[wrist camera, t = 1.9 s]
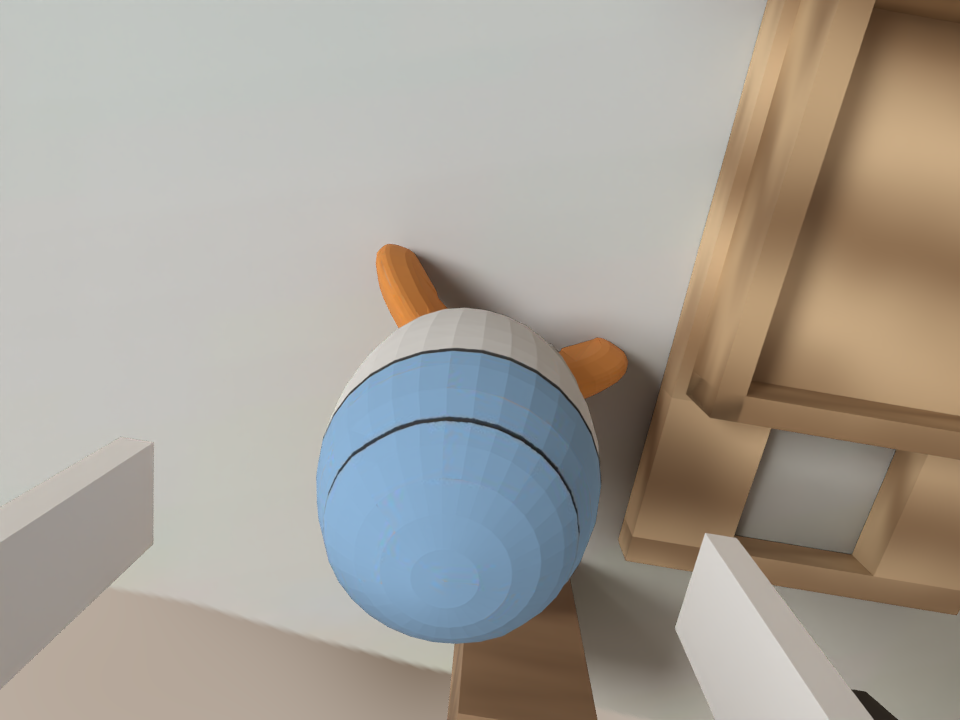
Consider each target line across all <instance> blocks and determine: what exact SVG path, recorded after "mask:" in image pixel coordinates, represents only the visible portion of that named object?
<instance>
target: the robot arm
mask: <svg viewBox="0 0 960 720" xmlns="http://www.w3.org/2000/svg"><path fill="white" fill-rule="evenodd" d="M153 471H154V442H149V441H143V440H137V439H131V438H125V437H120V438H118V439H116V440H115V441H113V442H111V443H109V444H108V445H106V446H104V447H103V448H101V449H99V450H97V451H96V452H94V453H92V454H91V455H89V456H87V457H85V458H84V459H82V460H80V461H79V462H77V463H75V464H73V465H72V466H70V467H68V468H66V469H65V470H63V471H61V472H60V473H58V474H56V475H54V476H53V477H51V478H49V479H48V480H46V481H44V482H42V483H41V484H39V485H37V486H36V487H34V488H32V489H30V490H29V491H27V492H25V493H24V494H22V495H20V496H18V497H17V498H15V499H13V500H12V501H10V502H8V503H6V504H5V505H3V506H1V507H0V689H1V688H2V687H3V686H4V685H5V684H6V683H7V682H9V681H10V680H11V679H12V678H13V677H14V676H15V675H16V674H17V673H18V672H19V671H20V670H21V669H22V668H23V667H24V666H25V665H26V664H27V663H28V662H30V661H31V660H32V659H33V658H34V657H35V656H36V655H37V654H38V653H39V652H40V651H41V650H42V649H43V648H44V647H45V646H46V645H47V644H48V643H50V642H51V641H52V640H53V639H54V638H55V637H56V636H57V635H58V634H59V633H60V632H61V631H62V630H63V629H64V628H65V627H66V626H67V625H69V624H70V623H71V622H72V621H73V620H74V619H75V618H76V617H77V616H78V615H79V614H80V613H81V612H82V611H83V610H84V609H85V608H86V607H87V606H89V605H90V604H91V603H92V602H93V601H94V600H95V599H96V598H97V597H98V596H99V595H100V594H101V593H102V592H103V591H104V590H105V589H106V588H107V587H109V586H110V585H111V584H112V583H113V582H114V581H115V580H116V579H117V578H118V577H119V576H120V575H121V574H122V573H123V572H124V571H125V570H126V569H127V568H129V567H130V566H131V565H132V564H133V563H134V562H135V561H136V560H137V559H138V558H139V557H140V556H141V555H142V554H143V553H144V552H145V551H146V550H147V549H149V548H150V547H151V546H152V545H153ZM675 630H676V632H677V634H678V637H679V639H680V641H681V643H682V646H683V648H684V650H685V653H686V655H687V657H688V659H689V662H690V664H691V666H692V669H693V671H694V673H695V675H696V678H697V680H698V682H699V685H700V687H701V689H702V691H703V694H704V696H705V698H706V701H707V703H708V705H709V707H710V710H711V712H712V714H713V717H714V719H715V720H898V719H897V718H895V717H894V716H893V715H892V714H891V713H890V712H888V711H887V710H886V709H885V708H884V707H883V706H882V705H880V704H879V703H878V702H877V701H876V700H875V699H874V698H872V697H871V696H870V695H869V694H868V693H867V692H864V691H858V690H852V689H850V687H849V686H848V685H847V683H846V682H845V681H844V680H843V678H842V677H841V676H840V674H839V673H838V672H837V670H836V669H835V668H834V666H833V665H832V664H831V662H830V661H829V660H828V658H827V657H826V656H825V654H824V653H823V652H822V650H821V649H820V648H819V646H818V645H817V644H816V642H815V641H814V640H813V638H812V637H811V636H810V634H809V633H808V632H807V630H806V629H805V628H804V626H803V625H802V624H801V623H800V621H799V620H798V619H797V617H796V616H795V615H794V613H793V612H792V611H791V609H790V608H789V607H788V605H787V604H786V603H785V601H784V600H783V599H782V597H781V596H780V595H779V593H778V592H777V591H776V589H775V588H774V587H773V585H772V584H771V583H770V581H769V580H768V579H767V577H766V576H765V575H764V573H763V572H762V571H761V569H760V568H759V567H758V566H757V564H756V563H755V562H754V560H753V559H752V558H751V556H750V555H749V554H748V552H747V551H746V550H745V548H744V547H743V546H742V544H741V543H740V542H739V540H738V539H737V538H733V537H727V536H721V535H715V534H709V533H705V535H704V538H703V541H702V544H701V547H700V551H699V554H698V557H697V560H696V563H695V566H694V570H693V573H692V576H691V579H690V582H689V585H688V588H687V592H686V595H685V598H684V601H683V604H682V607H681V610H680V614H679V617H678V620H677V623H676V626H675Z"/></svg>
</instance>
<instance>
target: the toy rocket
mask: <svg viewBox="0 0 960 720" xmlns="http://www.w3.org/2000/svg"><path fill="white" fill-rule="evenodd" d="M376 268H377V275H378V281H379V286H380V289H381V292H382V295H383V298H384V300H385V302H386V304H387V307H388V309H389V311H390V313H391V315H392V317H393V318H394V320H395V322H396V324H397V326H398V329H397V330H395V331H394V332H393V333H392V334H391V335H390V336H389V337H387V338H386V339H385V340H384V341H383V342H382V343H381V344H380V345H378V346H377V347H376V348H375V349H374V350H373V351H372V352H371V353H370V354H369V355H368V357H367V358H366V359H365V360H364V362H363V363H362V364H361V366H360V367H359V368H358V370H357V371H356V372H355V374H354V375H353V377H352V378H351V379H350V381H349V382H348V383H347V385H346V387H345V389H344V390H343V392H342V394H341V396H340V398H339V400H338V403H337V405H336V407H335V409H334V412H333V414H332V416H331V418H330V421H329V423H328V425H327V428H326V431H325V434H324V437H323V442H322V447H321V452H320V457H319V463H318V469H317V476H316V480H317V507H318V517H319V522H320V527H321V531H322V535H323V539H324V544H325V548H326V552H327V556H328V560H329V563H330V565H331V567H332V569H333V571H334V573H335V575H336V577H337V579H338V581H339V583H340V584H341V585H342V587H343V588H344V589H345V591H346V592H347V593H348V595H349V596H350V597H351V599H352V600H353V601H354V602H356V603H357V604H358V605H359V606H360V607H361V608H362V609H363V610H364V611H365V612H366V613H368V614H369V615H370V616H372V617H373V618H375V619H376V620H378V621H380V622H381V623H383V624H384V625H386V626H387V627H389V628H392V629H394V630H396V631H399V632H401V633H403V634H406V635H408V636H411V637H415V638H419V639H423V640H427V641H431V642H441V643H453V644H460V643H472V642H482V641H486V640H490V639H494V638H498V637H502V636H504V635H506V634H507V633H509V632H511V631H513V630H514V629H516V628H518V627H520V626H521V625H523V624H525V623H526V622H528V621H529V620H530V619H532V618H533V617H535V616H536V615H538V614H539V613H541V612H542V611H543V610H544V609H545V608H546V607H547V606H548V605H549V604H550V603H551V602H552V601H553V600H554V599H555V598H556V597H557V596H558V594H559V592H560V591H561V589H562V588H563V586H564V585H565V584H566V583H567V582H568V580H569V578H570V577H571V575H572V574H573V572H574V571H575V569H576V568H577V566H578V565H579V563H580V561H581V559H582V556H583V554H584V551H585V549H586V546H587V544H588V541H589V538H590V536H591V533H592V531H593V528H594V525H595V523H596V516H597V509H598V503H599V496H600V489H601V472H600V458H599V445H598V441H597V437H596V433H595V429H594V426H593V422H592V419H591V416H590V413H589V409H588V406H587V403H586V401H585V399H586V398H588V397H590V396H593V395H595V394H597V393H599V392H601V391H603V390H605V389H607V388H608V387H610V386H611V385H613V384H615V383H616V382H618V381H619V380H620V379H621V378H622V376H623V375H624V374H625V373H626V370H627V365H628V360H627V357H626V355H625V353H624V352H623V351H622V350H621V349H619V348H618V347H617V346H615V345H614V344H612V343H611V342H609V341H607V340H605V339H602V338H595V339H593V340H589V341H586V342H582V343H579V344H576V345H572V346H569V347H564V348H562V349H561V351H560V352H558V351H557V350H556V349H555V348H554V347H553V346H552V345H551V343H550V344H547V342H546V341H545V340H544V339H543V338H541V337H540V336H539V335H538V334H536V333H535V332H534V331H532V330H531V329H530V328H529V327H527V326H526V325H524V324H522V323H520V322H518V321H516V320H514V319H512V318H510V317H508V316H505V315H501V314H498V313H494V312H491V311H488V310H481V309H472V308H454V309H448V308H447V307H446V306H445V305H444V304H443V303H442V302H441V301H440V299H439V298H438V296H437V291H436V290H435V288H434V286H433V284H432V283H431V281H430V279H429V277H428V276H427V274H426V272H425V271H424V269H423V267H422V265H421V264H420V262H419V260H418V258H417V257H416V255H415V254H414V253H413V252H412V251H411V250H409V249H407V248H404V247H401V246H399V245H394V244H387V245H385V246H383V247H382V248H381V249H380V250H379V251H378V253H377V258H376Z"/></svg>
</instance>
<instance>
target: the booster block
mask: <svg viewBox="0 0 960 720" xmlns="http://www.w3.org/2000/svg"><path fill="white" fill-rule="evenodd" d="M447 720H597V715H596V710H595V705H594V700H593V695H592V689H591V684H590V679H589V674H588V669H587V664H586V658H585V653H584V648H583V643H582V638H581V633H580V628H579V622H578V617H577V612H576V607H575V602H574V597H573V592H572V586H571V581H570V578H569V580H568V582H567V583H566V584H565V585H564V586H563V588H562V589H561V591H560V592H559V594H558V596H557V597H556V598H555V599H554V600H553V601H552V602H551V603H550V604H549V605H548V606H547V607H546V608H545V609H544V610H543V611H542V612H541V613H539V614H538V615H536V616H535V617H533V618H532V619H530V620H529V621H528V622H526V623H525V624H523V625H521V626H520V627H518V628H516V629H514V630H513V631H511V632H509V633H507V634H506V635H504V636H502V637H498V638H494V639H490V640H486V641H482V642H472V643H460V644H455V646H454V656H453V666H452V676H451V686H450V696H449V706H448V716H447Z"/></svg>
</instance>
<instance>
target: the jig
mask: <svg viewBox="0 0 960 720" xmlns="http://www.w3.org/2000/svg"><path fill="white" fill-rule="evenodd" d="M771 428H773V429H779V430H785V431H791V432H797V433H803V434H809V435H814V436H820V437H826V438H832V439H838V440H844V441H850V442H856V443H862V444H868V445H874V446H880V447H886V448H892V449H897V450H896V452H895V454H894V457H893V459H892V461H891V464H890V466H889V468H888V471H887V473H886V476H885V478H884V480H883V483H882V485H881V487H880V490H879V492H878V494H877V497H876V499H875V501H874V504H873V506H872V509H871V511H870V513H869V516H868V518H867V520H866V523H865V525H864V527H863V530H862V532H861V534H860V537H859V539H858V542H857V544H856V546H855V549H854V551H853V553H852V555H850V554H844V553H838V552H832V551H826V550H820V549H814V548H808V547H802V546H796V545H790V544H784V543H778V542H772V541H766V540H760V539H754V538H748V537H742V536H736V535H734V534H735V531H736V529H737V526H738V523H739V520H740V517H741V514H742V511H743V508H744V506H745V503H746V500H747V497H748V494H749V491H750V488H751V485H752V482H753V480H754V477H755V474H756V471H757V468H758V465H759V462H760V459H761V457H762V454H763V451H764V448H765V445H766V442H767V439H768V436H769V433H770V431H771ZM705 533H709V534H715V535H721V536H727V537H733V538H737V539H738V540H739V542H740V543H741V544H742V546H743V547H744V548H745V550H746V551H747V552H748V554H749V555H750V556H751V558H752V559H753V560H754V562H755V563H756V564H757V566H758V567H759V568H760V569H761V571H762V572H763V573H764V575H765V576H766V577H767V579H768V580H769V581H770V583H771V584H772V585H776V586H782V587H789V588H795V589H801V590H807V591H813V592H819V593H825V594H831V595H837V596H843V597H849V598H855V599H861V600H867V601H874V602H880V603H886V604H892V605H898V606H904V607H910V608H916V609H922V610H928V611H934V612H940V613H946V614H953V615H957V614H958V612H959V610H960V0H768V1H767V4H766V8H765V11H764V15H763V19H762V22H761V26H760V30H759V33H758V37H757V40H756V44H755V48H754V51H753V55H752V58H751V62H750V66H749V69H748V73H747V76H746V80H745V84H744V87H743V91H742V95H741V98H740V102H739V105H738V109H737V113H736V116H735V120H734V123H733V127H732V131H731V134H730V138H729V142H728V145H727V149H726V152H725V156H724V160H723V163H722V167H721V170H720V174H719V178H718V181H717V185H716V188H715V192H714V196H713V199H712V203H711V207H710V210H709V214H708V217H707V221H706V225H705V228H704V232H703V235H702V239H701V243H700V246H699V250H698V254H697V257H696V261H695V264H694V268H693V272H692V275H691V279H690V282H689V286H688V290H687V293H686V297H685V301H684V304H683V308H682V311H681V315H680V319H679V322H678V326H677V329H676V333H675V337H674V340H673V344H672V347H671V351H670V355H669V358H668V362H667V366H666V369H665V373H664V376H663V380H662V384H661V387H660V391H659V394H658V398H657V402H656V405H655V409H654V413H653V416H652V420H651V423H650V427H649V431H648V434H647V438H646V441H645V445H644V449H643V452H642V456H641V459H640V463H639V467H638V470H637V474H636V478H635V481H634V485H633V488H632V492H631V496H630V499H629V503H628V506H627V510H626V514H625V517H624V521H623V525H622V528H621V532H620V535H619V539H618V541H619V544H620V547H621V549H622V552H623V555H624V558H625V560H626V561H631V562H637V563H643V564H649V565H655V566H661V567H667V568H673V569H679V570H685V571H691V572H693V570H694V566H695V563H696V560H697V557H698V554H699V551H700V547H701V544H702V541H703V538H704V535H705Z"/></svg>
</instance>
